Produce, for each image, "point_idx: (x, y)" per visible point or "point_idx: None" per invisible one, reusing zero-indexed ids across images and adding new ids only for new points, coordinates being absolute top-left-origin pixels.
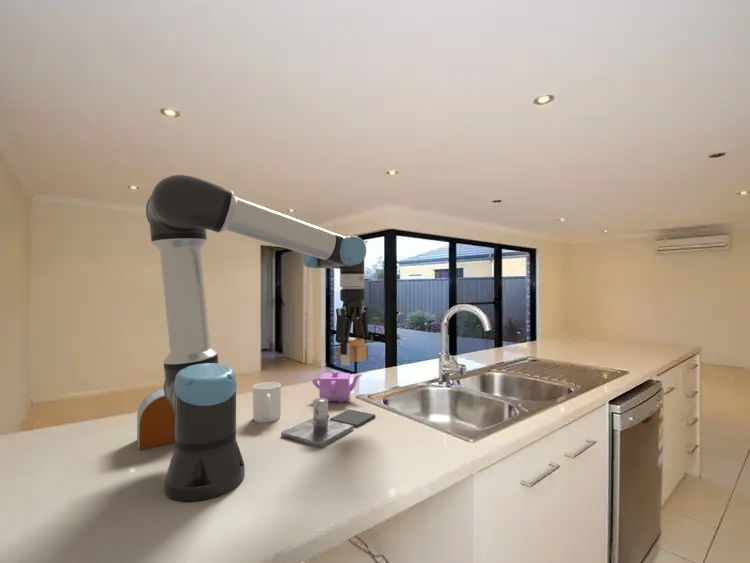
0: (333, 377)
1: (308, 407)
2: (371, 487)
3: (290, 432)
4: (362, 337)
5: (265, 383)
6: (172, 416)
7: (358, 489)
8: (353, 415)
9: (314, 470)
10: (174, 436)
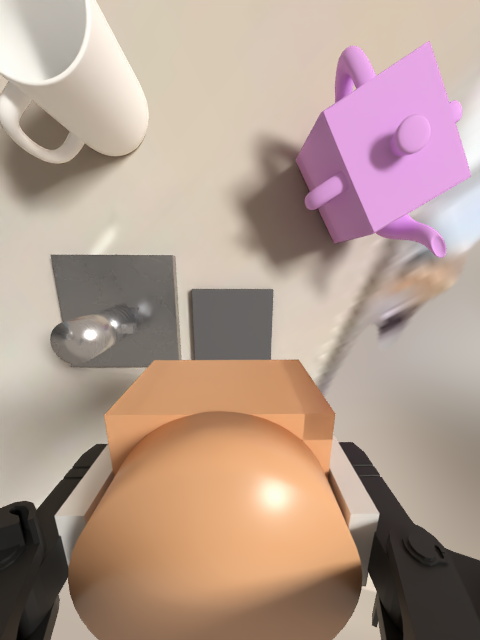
0: (372, 156)
1: (247, 158)
2: (40, 486)
3: (63, 275)
4: (382, 625)
5: None
6: None
7: (24, 476)
8: (239, 326)
9: (15, 403)
10: None
